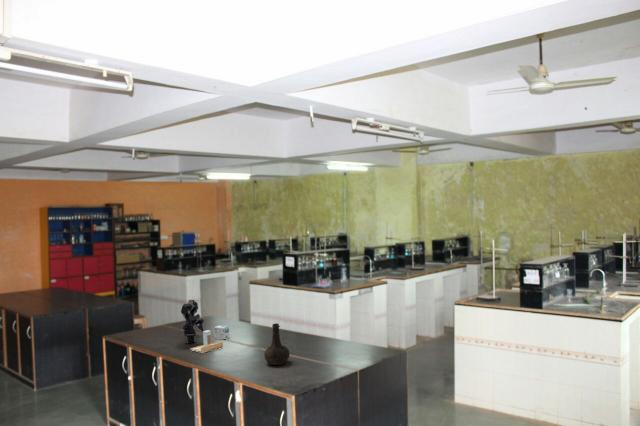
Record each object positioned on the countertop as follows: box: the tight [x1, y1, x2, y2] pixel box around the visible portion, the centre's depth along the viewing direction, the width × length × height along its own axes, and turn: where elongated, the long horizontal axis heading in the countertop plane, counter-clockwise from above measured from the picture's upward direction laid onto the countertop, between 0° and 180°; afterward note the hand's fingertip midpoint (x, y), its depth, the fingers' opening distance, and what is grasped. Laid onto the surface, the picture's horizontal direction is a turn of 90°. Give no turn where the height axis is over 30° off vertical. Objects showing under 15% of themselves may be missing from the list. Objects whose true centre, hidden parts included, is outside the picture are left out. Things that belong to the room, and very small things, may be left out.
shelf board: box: [189, 342, 224, 354], centre depth 405 cm, size 16×20×2 cm
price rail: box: [201, 341, 224, 352], centre depth 400 cm, size 1×20×3 cm, turn 138°
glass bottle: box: [263, 323, 290, 366], centre depth 359 cm, size 18×18×28 cm
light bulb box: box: [214, 325, 230, 340], centre depth 439 cm, size 11×7×11 cm, turn 65°
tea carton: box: [202, 329, 212, 347], centre depth 404 cm, size 4×4×13 cm
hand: (198, 332), depth 413 cm, fingers open, 9 cm apart
